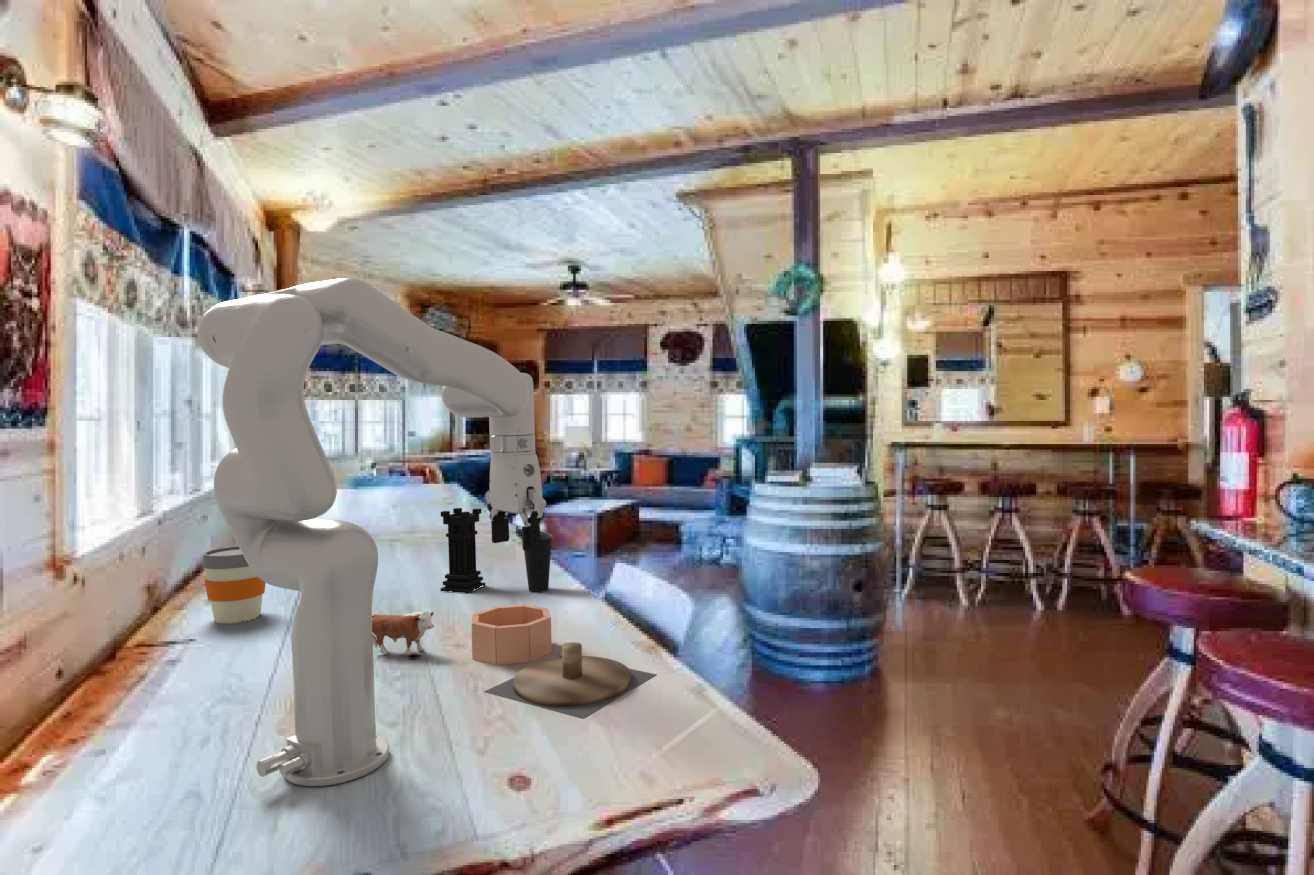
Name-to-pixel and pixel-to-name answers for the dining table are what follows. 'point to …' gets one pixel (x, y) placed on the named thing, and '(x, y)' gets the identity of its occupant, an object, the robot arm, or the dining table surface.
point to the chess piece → (462, 551)
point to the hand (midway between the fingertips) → (515, 545)
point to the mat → (577, 711)
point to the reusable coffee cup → (232, 585)
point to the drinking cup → (539, 564)
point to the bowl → (511, 634)
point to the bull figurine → (401, 629)
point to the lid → (572, 679)
